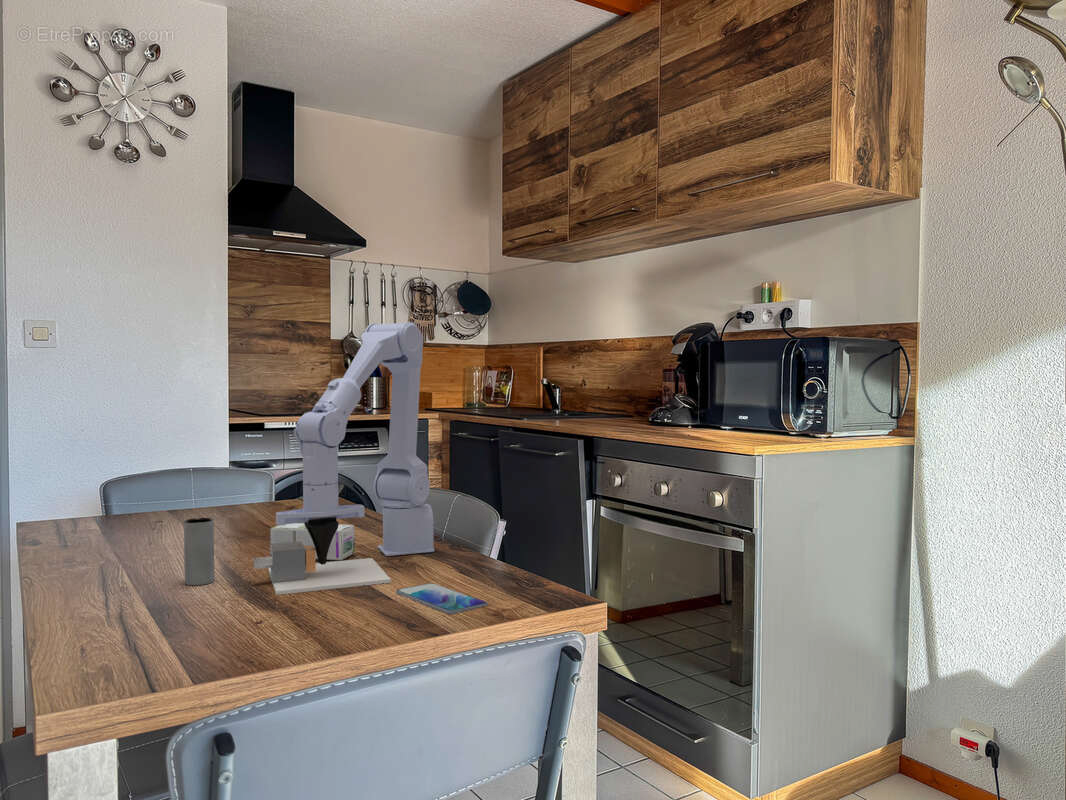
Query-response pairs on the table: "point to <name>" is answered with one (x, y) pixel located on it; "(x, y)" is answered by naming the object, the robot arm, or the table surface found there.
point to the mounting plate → (336, 577)
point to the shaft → (309, 560)
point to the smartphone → (441, 598)
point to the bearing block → (287, 562)
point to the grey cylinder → (199, 551)
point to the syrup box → (296, 532)
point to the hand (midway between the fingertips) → (321, 563)
